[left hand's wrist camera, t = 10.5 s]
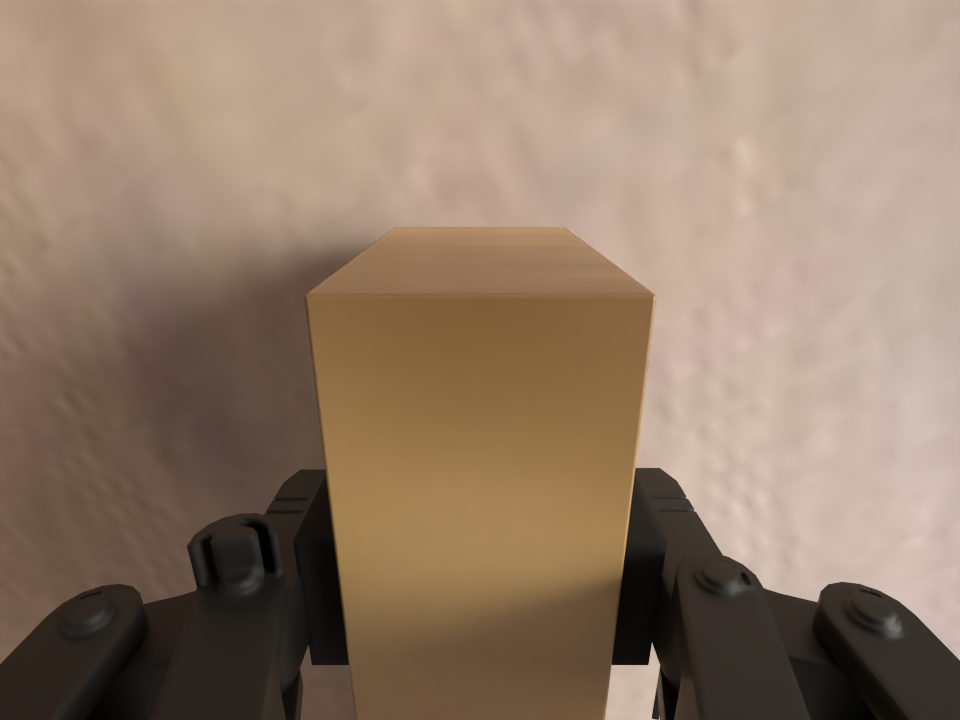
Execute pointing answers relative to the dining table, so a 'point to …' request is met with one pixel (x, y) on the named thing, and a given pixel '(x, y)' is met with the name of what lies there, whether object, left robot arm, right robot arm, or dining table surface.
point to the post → (480, 467)
